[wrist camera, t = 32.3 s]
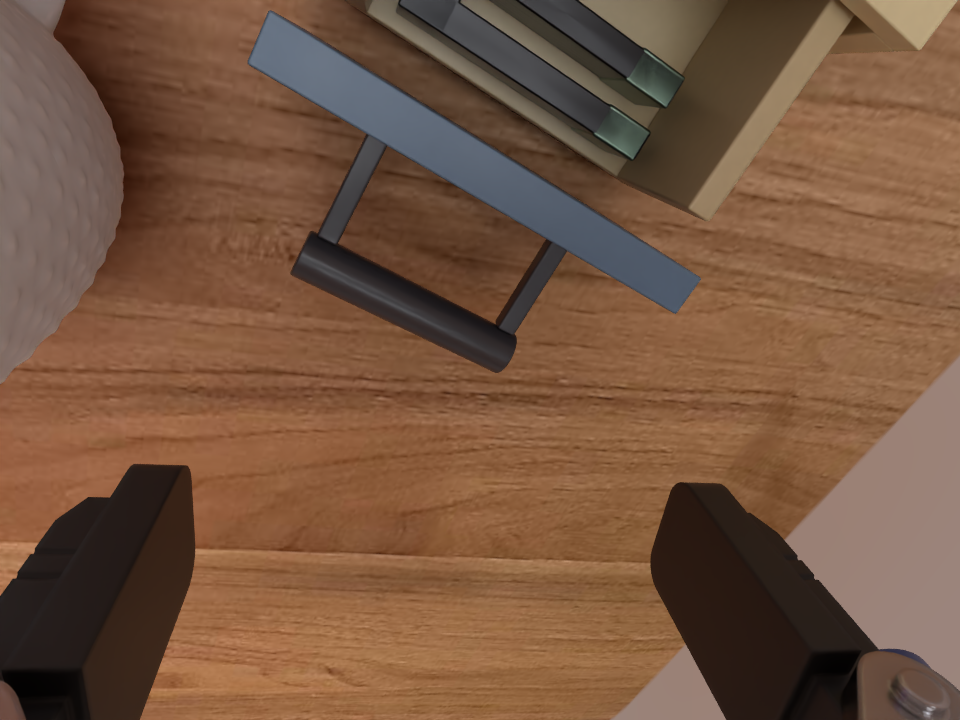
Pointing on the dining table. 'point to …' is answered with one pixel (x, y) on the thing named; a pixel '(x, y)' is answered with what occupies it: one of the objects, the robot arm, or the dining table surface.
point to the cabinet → (890, 25)
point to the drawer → (524, 194)
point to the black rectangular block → (579, 34)
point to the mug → (49, 180)
